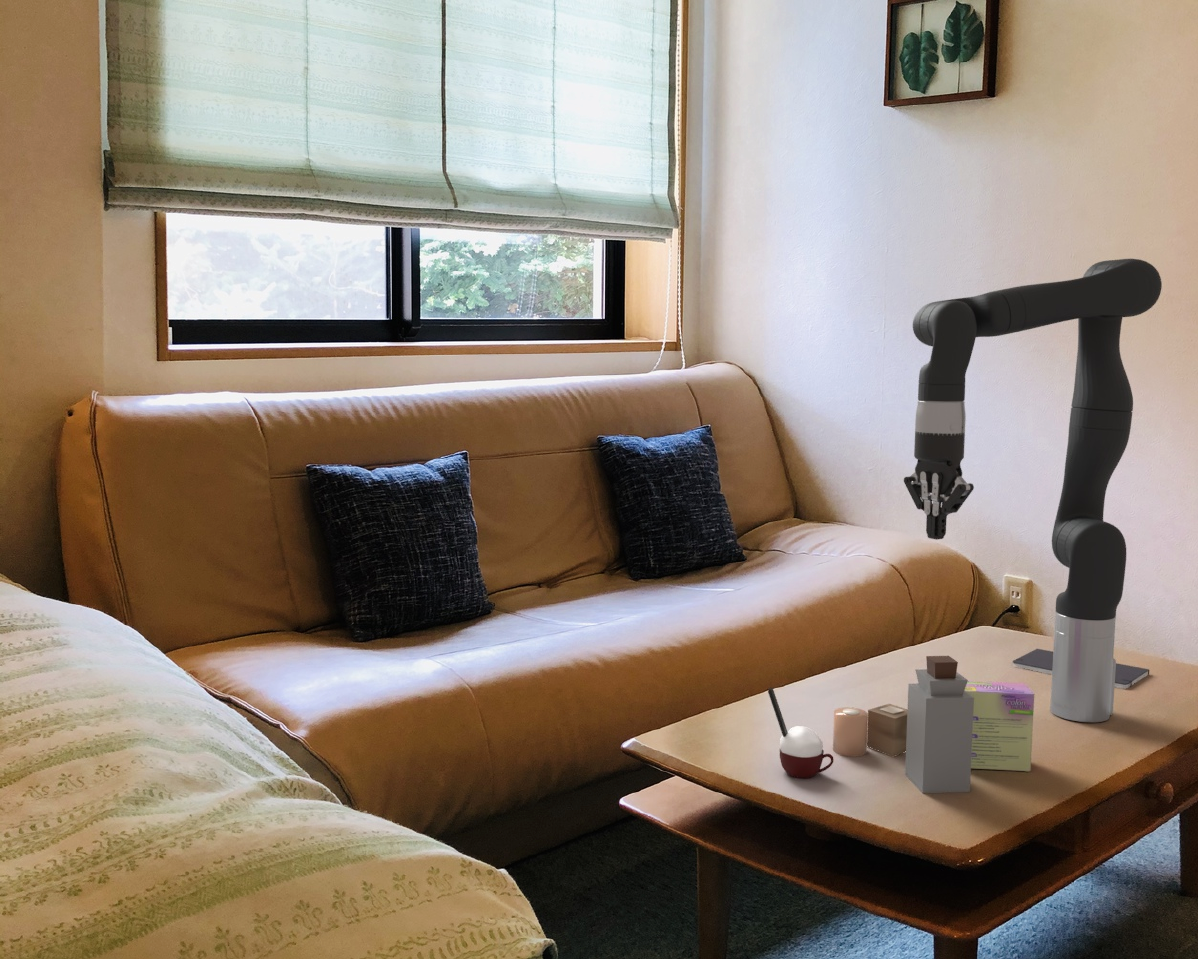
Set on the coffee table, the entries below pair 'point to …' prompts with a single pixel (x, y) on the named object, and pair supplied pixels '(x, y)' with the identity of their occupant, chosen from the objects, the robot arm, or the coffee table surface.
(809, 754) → the cocoa
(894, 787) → the coffee table surface
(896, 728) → the walnut block
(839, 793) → the coffee table surface
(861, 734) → the terracotta cylinder
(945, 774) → the perfume bottle
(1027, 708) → the box
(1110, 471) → the robot arm
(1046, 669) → the notebook
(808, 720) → the coffee table surface
